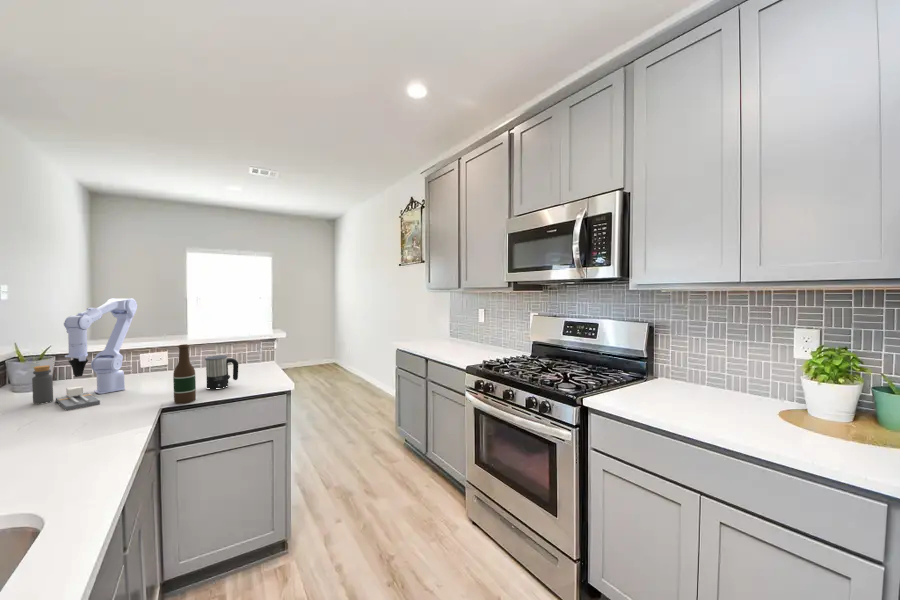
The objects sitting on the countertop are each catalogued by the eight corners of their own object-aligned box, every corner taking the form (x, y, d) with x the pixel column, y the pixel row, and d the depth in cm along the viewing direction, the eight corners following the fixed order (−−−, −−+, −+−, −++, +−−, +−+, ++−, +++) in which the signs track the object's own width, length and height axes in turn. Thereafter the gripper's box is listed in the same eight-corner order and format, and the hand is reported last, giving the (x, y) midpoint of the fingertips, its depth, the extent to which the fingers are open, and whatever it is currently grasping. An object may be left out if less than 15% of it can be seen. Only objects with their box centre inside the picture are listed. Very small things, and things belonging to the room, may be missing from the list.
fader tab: (80, 394, 168) (80, 385, 168) (83, 396, 166) (82, 387, 166) (66, 397, 165) (66, 388, 164) (68, 398, 162) (68, 389, 162)
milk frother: (211, 391, 181) (211, 359, 180) (194, 386, 189) (194, 356, 189) (242, 384, 193) (241, 354, 192) (224, 380, 201) (224, 351, 201)
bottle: (40, 404, 160) (38, 368, 159) (29, 403, 161) (27, 367, 161) (57, 400, 166) (55, 365, 165) (46, 399, 167) (45, 364, 166)
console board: (87, 395, 172) (87, 390, 172) (99, 404, 161) (99, 398, 161) (55, 401, 164) (55, 396, 164) (66, 410, 153) (66, 404, 153)
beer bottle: (200, 399, 168) (199, 344, 167) (182, 404, 161) (181, 346, 160) (187, 397, 171) (185, 343, 170) (169, 402, 164) (167, 345, 163)
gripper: (60, 343, 166) (61, 375, 166) (68, 346, 157) (69, 380, 158) (83, 341, 172) (83, 372, 172) (92, 344, 163) (92, 377, 163)
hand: (78, 376), depth 165 cm, fingers closed
